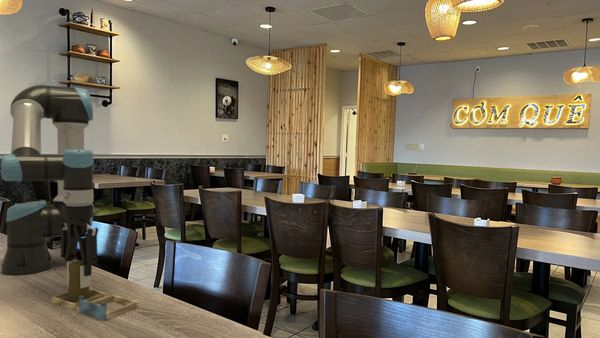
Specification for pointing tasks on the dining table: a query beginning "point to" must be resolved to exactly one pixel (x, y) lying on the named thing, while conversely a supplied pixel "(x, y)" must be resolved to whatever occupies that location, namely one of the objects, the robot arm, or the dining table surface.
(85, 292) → the cork
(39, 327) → the dining table surface
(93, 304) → the caddy
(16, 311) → the dining table surface
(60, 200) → the robot arm
